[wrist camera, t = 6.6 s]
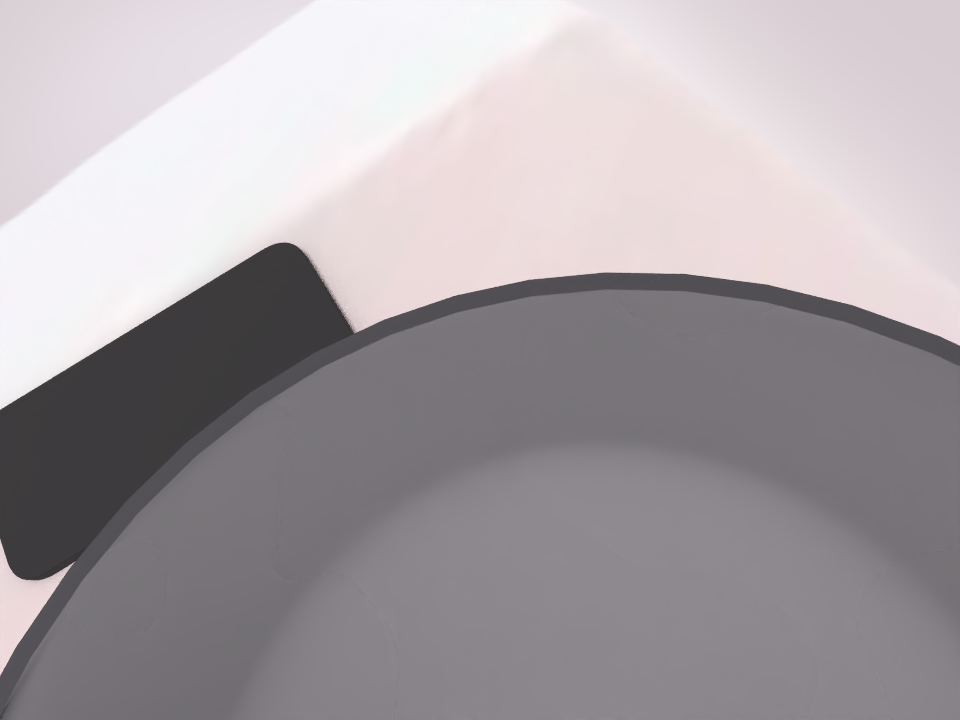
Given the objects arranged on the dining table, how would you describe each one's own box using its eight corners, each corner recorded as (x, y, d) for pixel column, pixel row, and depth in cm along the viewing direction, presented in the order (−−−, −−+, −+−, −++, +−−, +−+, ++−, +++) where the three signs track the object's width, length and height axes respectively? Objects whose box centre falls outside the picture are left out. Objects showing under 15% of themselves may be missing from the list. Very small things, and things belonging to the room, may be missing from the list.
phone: (-34, 428, 26) (290, 230, 27) (-17, 433, 27) (297, 240, 28) (16, 594, 23) (373, 367, 25) (34, 595, 24) (379, 374, 25)
